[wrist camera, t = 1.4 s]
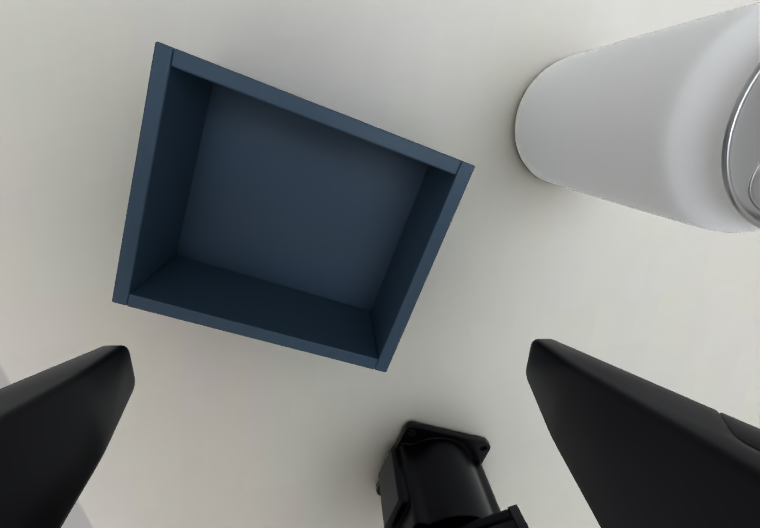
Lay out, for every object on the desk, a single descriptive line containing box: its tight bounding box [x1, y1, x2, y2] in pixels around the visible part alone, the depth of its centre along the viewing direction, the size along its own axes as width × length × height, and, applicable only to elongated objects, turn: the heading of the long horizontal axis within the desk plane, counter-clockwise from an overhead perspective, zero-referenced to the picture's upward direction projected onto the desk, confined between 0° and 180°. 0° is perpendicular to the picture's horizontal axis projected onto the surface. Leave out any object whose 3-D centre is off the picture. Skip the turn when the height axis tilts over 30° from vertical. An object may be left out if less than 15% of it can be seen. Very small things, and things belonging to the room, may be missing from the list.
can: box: [515, 2, 760, 233], centre depth 15 cm, size 6×6×12 cm
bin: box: [112, 42, 475, 372], centre depth 18 cm, size 12×10×6 cm
